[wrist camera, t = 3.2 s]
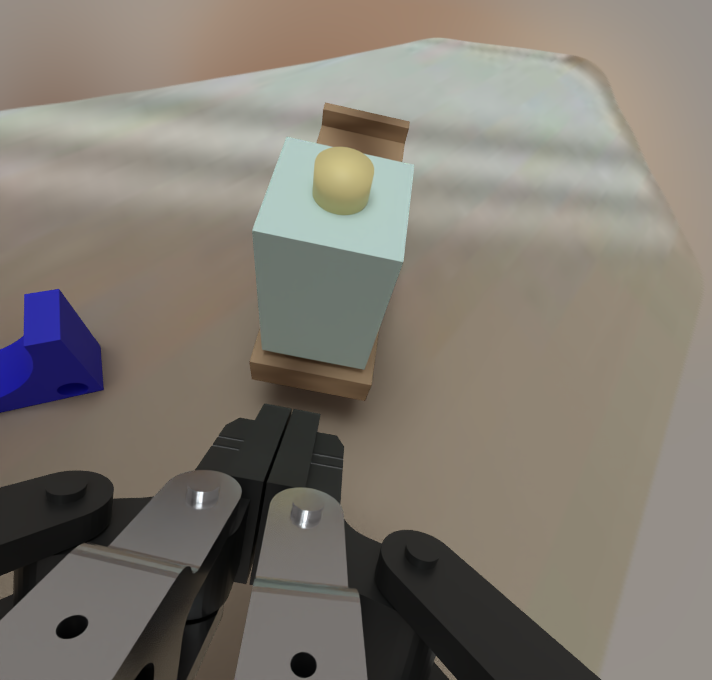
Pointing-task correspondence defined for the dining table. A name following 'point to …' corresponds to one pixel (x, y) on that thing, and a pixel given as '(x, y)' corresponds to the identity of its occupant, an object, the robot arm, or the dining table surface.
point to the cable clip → (49, 355)
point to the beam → (385, 142)
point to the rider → (329, 250)
